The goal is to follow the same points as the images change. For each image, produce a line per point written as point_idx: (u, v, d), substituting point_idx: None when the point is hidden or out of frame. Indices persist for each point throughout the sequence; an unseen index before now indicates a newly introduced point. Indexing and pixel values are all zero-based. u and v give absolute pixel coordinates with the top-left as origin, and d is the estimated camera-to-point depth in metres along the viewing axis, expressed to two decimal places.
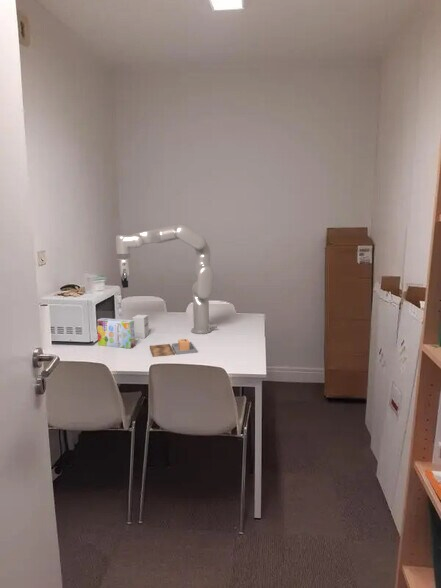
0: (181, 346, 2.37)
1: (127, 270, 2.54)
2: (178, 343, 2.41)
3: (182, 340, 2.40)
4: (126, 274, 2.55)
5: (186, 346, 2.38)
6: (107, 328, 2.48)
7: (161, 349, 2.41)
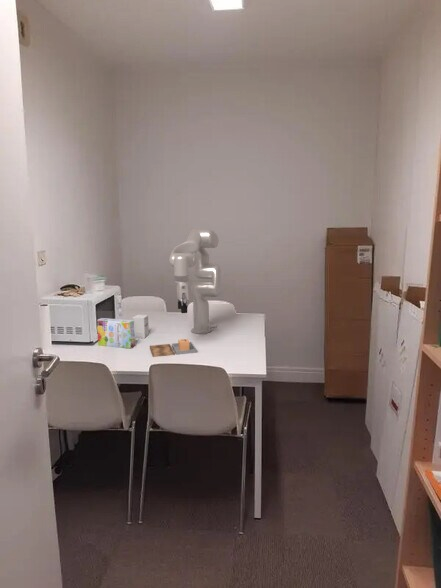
0: (181, 346, 2.37)
1: (187, 294, 2.30)
2: (178, 343, 2.41)
3: (182, 340, 2.40)
4: (185, 298, 2.31)
5: (186, 346, 2.38)
6: (107, 328, 2.48)
7: (161, 349, 2.41)
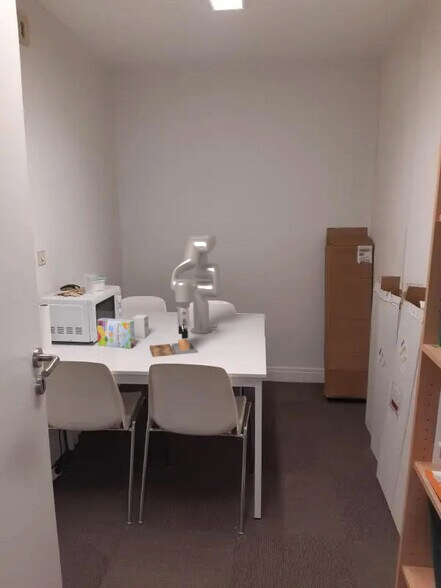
0: (181, 346, 2.37)
1: (187, 320, 2.32)
2: (178, 343, 2.41)
3: (182, 340, 2.40)
4: None
5: (186, 346, 2.38)
6: (107, 328, 2.48)
7: (161, 349, 2.41)
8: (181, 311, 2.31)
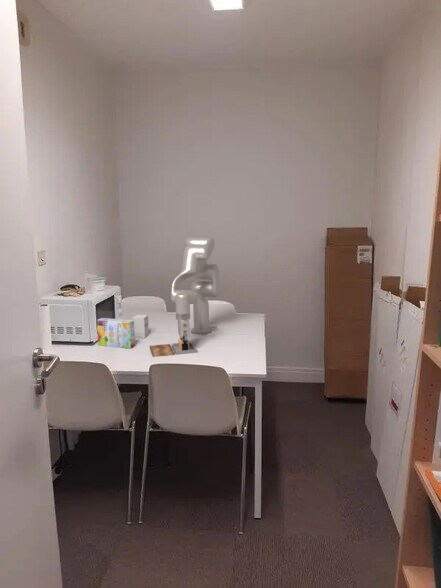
0: (181, 346, 2.37)
1: (188, 331, 2.34)
2: (178, 343, 2.41)
3: None
4: None
5: None
6: (107, 328, 2.48)
7: (161, 349, 2.41)
8: (181, 323, 2.33)
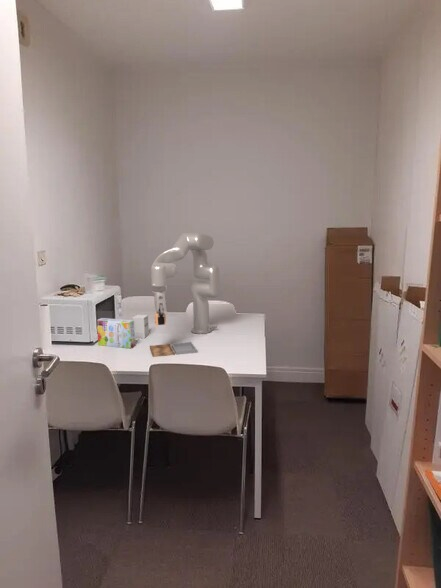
0: (157, 320, 2.31)
1: (164, 304, 2.28)
2: None
3: None
4: None
5: None
6: (107, 328, 2.48)
7: (161, 349, 2.41)
8: (157, 295, 2.27)
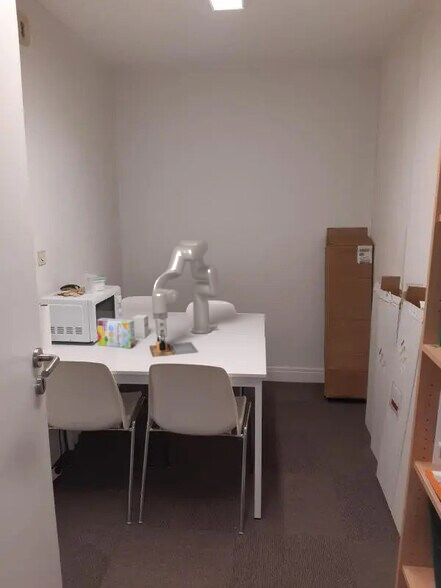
0: (158, 348, 2.34)
1: (165, 331, 2.30)
2: (156, 345, 2.38)
3: None
4: (163, 335, 2.32)
5: None
6: (107, 328, 2.48)
7: None
8: (158, 322, 2.29)
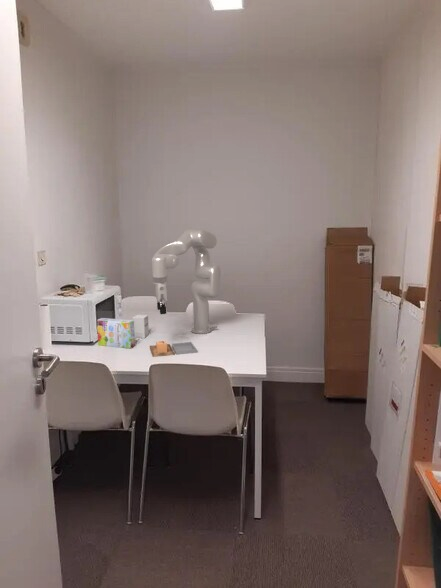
0: (158, 348, 2.34)
1: (165, 295, 2.31)
2: (156, 345, 2.38)
3: (160, 342, 2.37)
4: None
5: (164, 349, 2.35)
6: (107, 328, 2.48)
7: None
8: (158, 286, 2.30)
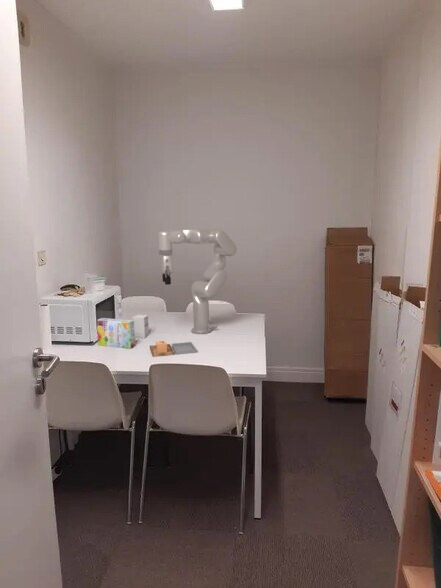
0: (158, 348, 2.34)
1: (170, 267, 2.50)
2: (156, 345, 2.38)
3: (160, 342, 2.37)
4: None
5: (164, 349, 2.35)
6: (107, 328, 2.48)
7: None
8: (164, 259, 2.49)
